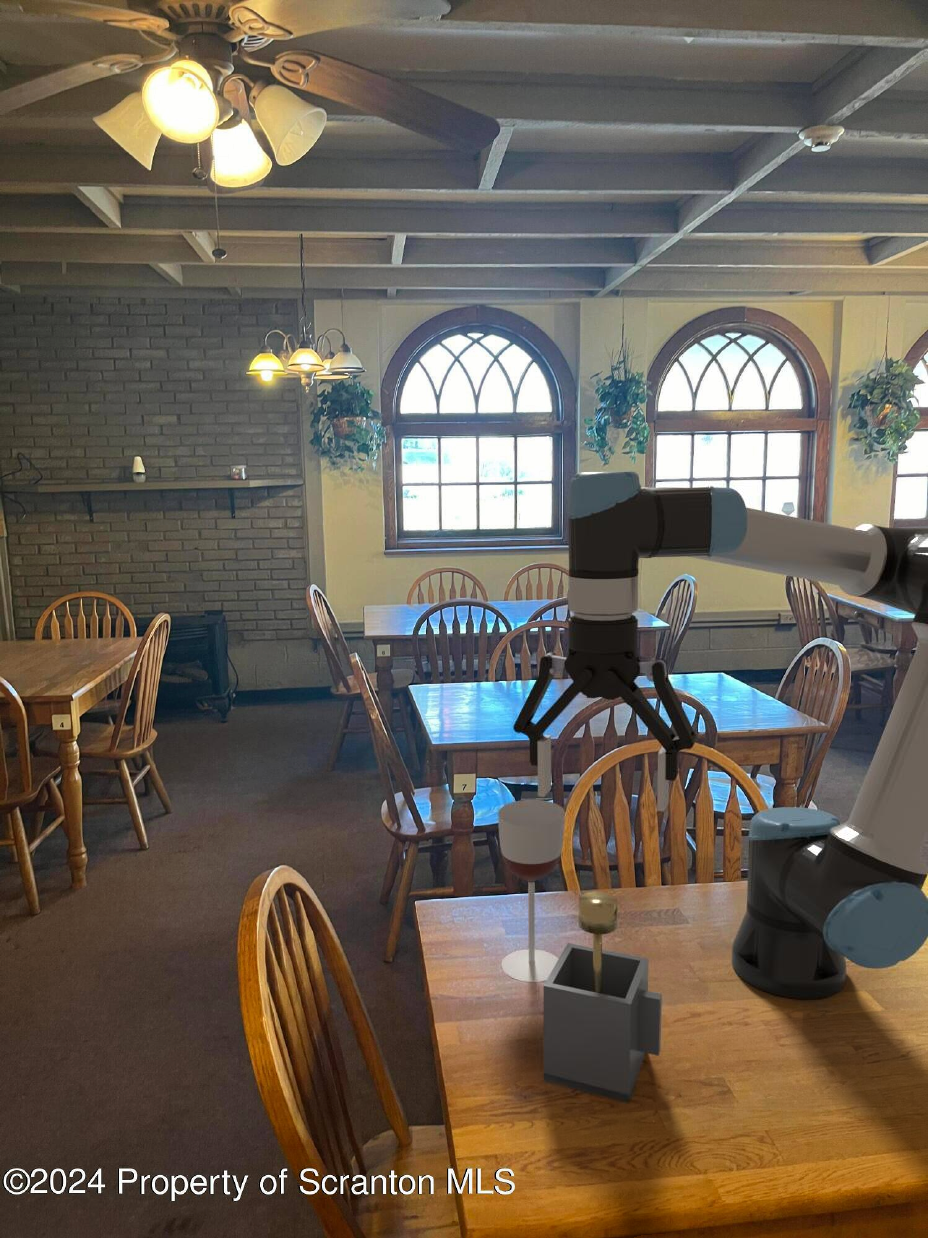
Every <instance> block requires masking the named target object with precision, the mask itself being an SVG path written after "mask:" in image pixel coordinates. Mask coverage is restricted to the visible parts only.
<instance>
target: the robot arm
mask: <svg viewBox="0 0 928 1238" xmlns="http://www.w3.org/2000/svg"><path fill="white" fill-rule="evenodd" d="M566 518H567V537H568V540H567V541H568V588H567V589H568V593H567V594H568V597H567V598H568V599H567V602H568V605H567V606H568V611H569V612H571V614H572V615H570V617H569V618H568V620H567V621H568V625H567V626H568V629H567V630H568V654H567V655H566V656H559V655H557V654H556V653H555V652H553V651H551V652H548V653H546V654H545V655H543V656H542V657H541V658H540V661H539V670H538V676H537V678H536V680H535V682H534V684H533V686H532V688H531V690H530V692H529V694H528V696H527V698H526V700H525V701H524V704H523V706H522V708H521V710H520V712H519V715H518V716H517V717H516V720H515V722H514V724H513V725H512V726H513V731H514V732H516V733H517V734H523V735H525V736H527V738H528V740H529V762H530V765H531V766H533V767H537V796H538V797H544V798H545V796H546V795H548V793H549V792H550V791H551V790H552V735H549V734H548V735H547V734H544V733H545V732H546V731H547V730H548V728H549V727H550V726H551V725H552V724H553V723H554V722H555V720H557V718H558V717H559V716H560V715H561V714H562V713H563V711H565V710H566V708H567V707H569V705H570V704H571V703H572V702H573V701H574V700H575V699H576V697H578V696H579V694H582V695H584V696H585V697H586V698H587V699H597V698H602V699H606V700H610V701H611V700H612V701H615V700H616V699H619V698H621V699H622V700H623V701H624V703H625V704H626V705H627V706H629V707H630V708H631V709H632V710H633V712H635V714H636V715H637V717H638V718H639V719H640V720H641V722H642V723H643V724H644V726H646V728H647V729H648V731H650V733H651V734H652V735H653V736H654V738H655V739H656V740H657V741H658V744H660V745H661V747H660V749H659V751H658V753H657V789H656V790H657V797H656V799H657V800H656V802H657V803H656V804H657V806H656V811H658V812H665V811H666V810H667V809H666V808H667V807H668V804H669V799H670V797H669V791H670V790H669V789H670V785H669V783H670V781H672V782H673V781H676V779H677V777H678V775H679V772H680V770H679V768H680V767H679V766H680V751H682V750H690V749H692V748H693V747H694V745H695V744H696V742H697V739H698V737H697V735H696V733H695V730H694V727H693V725H692V724H691V722H690V720H689V718H688V716H687V714H686V711H685V709H684V707H683V706H682V705H683V704H681V701H680V699H679V697H678V695H677V693H676V691H675V689H674V686H673V684H672V682H671V680H670V679H669V670H668V662H667V660H666V659H664V658H658V659H657V660H655V661H641V659H640V658H639V654H638V653H639V652H638V643H639V641H638V638H639V637H638V636H639V634H638V633H639V632H638V626H639V624H638V622H639V619H638V618H637V617H636V615H634V613H635V612H637V611H638V609H639V562H640V561H639V560H640V559H652V558H672V557H673V558H676V557H677V558H679V557H681V558H682V557H684V558H685V557H687V558H688V557H689V558H692V559H699V560H703V561H708V562H714V563H719V564H724V565H730V566H734V567H740V568H746V569H751V570H755V571H756V570H757V571H761V572H767V573H772V574H777V575H782V576H788V577H793V578H797V579H798V578H799V579H803V580H808V581H814V582H820V583H824V584H830V585H835V586H839V588H840V590H841V591H842V592H843V593H844V594H846V595H849V596H852V597H857V598H863V599H867V600H870V601H872V602H876V603H880V604H883V605H885V606H886V605H887V606H889V607H892V608H895V609H898V610H900V611H903V612H906V613H909V614H913V615H914V617H913V620H912V622H911V627H912V629H913V631H914V633H915V635H916V637H917V640H918V641H917V642H918V645H917V647H916V648H915V649H916V650H915V652H914V655H913V657H912V659H911V661H910V665H909V667H908V670H907V672H906V674H905V677H904V679H903V682H902V684H901V686H900V687H901V688H900V690H899V692H898V695H897V698H896V699H895V702H894V705H893V707H892V710H891V713H890V714H889V717H888V720H887V722H886V725H885V728H884V730H883V732H882V734H881V738H880V740H879V742H878V745H877V748H876V749H875V753H874V756H873V758H872V760H871V762H870V765H869V767H868V771H867V773H866V775H865V778H864V780H863V784H862V785H861V788H860V791H859V792H858V796H857V798H856V801H855V804H854V805H853V807H852V808H853V809H851V810H852V811H851V813H850V816H849V818H848V820H846V821H845V822H843V823H841V822H840V819H839V818H838V817H837V816H835V814H832V813H830V812H827V811H823V810H820V809H814V808H807V807H797V806H796V807H795V806H794V807H793V806H790V807H789V806H788V807H787V806H784V807H782V806H781V807H774V808H773V807H772V808H768V809H764V810H761V811H758V812H757V813H756V814H754V816H753V817H752V818H751V820H750V826H749V832H748V836H747V841H748V855H747V856H748V860H747V885H746V886H747V888H746V893H747V894H746V911H745V914H744V915H743V919H742V921H741V923H740V926H739V928H738V931H737V933H736V936H735V938H734V939H733V943H732V948H731V949H732V950H731V964H732V968H733V969H734V971H735V972H736V973H737V975H738V976H739V977H740V978H741V979H742V980H744V981H745V982H747V983H748V984H750V985H752V986H753V987H755V988H757V989H759V990H762V991H763V992H766V993H768V994H769V993H770V994H771V995H776V996H779V997H784V998H790V999H798V1000H799V999H800V1000H815V999H823V998H826V997H830V996H832V995H833V996H834V995H836V993H838V992H839V991H841V990H842V989H843V988H844V986H845V984H846V978H847V961H846V959H847V960H849V961H850V962H851V963H853V964H855V965H857V966H859V967H862V968H866V969H875V970H877V969H878V970H879V969H887V968H891V967H894V966H896V965H897V964H898V963H900V962H905V961H907V960H909V959H910V958H911V957H912V956H914V955H915V954H916V953H917V952H918V951H919V950H920V949H921V948H922V946H923V945H924V944H925V942H926V941H927V939H928V897H927V895H926V894H925V892H924V891H923V886H924V885H925V882H926V880H927V877H928V866H927V865H928V864H927V863H926V861H925V859H924V857H923V854H922V850H923V848H924V845H925V843H926V841H927V838H928V527H927V528H925V527H924V528H920V527H919V528H918V527H917V528H916V527H915V528H913V527H909V528H908V527H905V528H903V527H902V528H901V527H885V526H879V525H875V524H869V523H863V524H859V525H857V526H856V527H854V528H850V527H844V526H840V525H835V524H830V523H826V522H821V521H820V522H819V521H815V520H810V519H806V518H800V517H795V516H791V515H786V514H781V513H775V512H771V511H765V510H761V509H755V508H750V507H747V506H746V503H745V500H744V498H743V497H742V495H741V494H740V492H739V491H738V490H736V489H734V488H732V487H717V486H712V485H711V486H710V485H709V486H706V487H705V486H699V487H651V486H650V487H648V486H645V487H643V486H642V485H641V484H640V477H639V474H638V473H637V472H636V471H632V470H630V471H629V470H627V471H590V472H589V471H588V472H584V471H583V472H582V471H581V472H579V473H576V474H574V475H573V476H572V477H571V479H570V482H569V487H568V499H567V513H566ZM562 669H564V670H565V672H566V673H567V674H568V676H569V678H571V680H572V682H571V684H570V685H569V686H568V687H567V688H566V689H565V690H564V692H563V693H562V694H561V695H560V697H558V699H557V700H556V701H554V703H553V704H552V705H551V706H550V707H549V708H548V710H547V711H546V712H545V713H544V714H543V715H542V716H541V718H540V719H538V721H537V722H536V723H535V722H532V720H533V718H534V717H535V715H536V713H537V710H538V709H539V707H540V705H541V704H542V702H543V701H542V700H543V699H544V697H545V694H546V692H547V691H548V689H549V687H550V685H551V683H552V681H553V679H554V676H556V675H558V674H559V673H560V672H561V670H562ZM640 674H644V675H645V676H646V678H647V680H648V681H649V682H652V683H653V686H654V689H655V691H656V694H657V695H658V698H659V700H660V702H661V704H662V706H663V708H664V710H665V712H666V714H667V716H668V718H669V721H670V723H671V724H672V727H673V728H674V730H675V732H674V731H673V730H672V729H671V727H670V726H669V725H668V724H667V722H666V721H665V719H663V717H662V716H661V715H660V713H659V712H658V711H657V710H656V709H655V708H654V705H652V704H651V703H650V701H649V700H648V698H647V697H645V695H644V694H643V691H642V690H641V687H640V686H639V685H638V684H637V683H636V682H635V681H636V679H637V678H638V677H639V675H640Z"/></svg>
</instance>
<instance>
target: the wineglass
mask: <svg viewBox="0 0 928 1238" xmlns="http://www.w3.org/2000/svg"><path fill="white" fill-rule="evenodd" d="M565 815H566V813H565V808H563V806H561V805H560V804H557V803H555V802H551V801H548V800H543V799H542V800H541V799H522V800H517V801H512V802H510V803H507V804H505V805H503V806H502V807H500V809H499V810H498V812H497V816H498V817H497V819H498V837H499V844H500V852H501V855H502V858H503V861H504V864H505V865H506V867H507V869H508V871H510V872H511V874H513V875H514V876H515V877H517V878H519V879H521V880H524V881H526V882H527V883H528V885H527V886H528V888H527V889H528V891H527V892H528V896H527V897H528V899H527V900H528V901H527V902H528V949H519V950H516V951H513V952H511V953H508V954H507V955H506V956H505V957H503V959H502V961H501V969H502V970H503V973H505V974H506V975H507V976H509V977H510V978H513V979H515V980H517V981H520V982H527V983H539V982H544V981H545V982H546V980H547V979H548V977H549V975H550V973H551V972H552V970H553V968H554V966H555V965H556V963H557V961H558V959H559V957H557V956H556V955H554V954H553V953H551V952H548V951H545V950H541V949H536V948H535V946H536V941H535V937H536V936H535V935H536V934H535V931H536V930H535V929H536V928H535V927H536V926H535V925H536V924H535V923H536V922H535V919H536V915H535V914H536V913H535V910H536V907H535V906H536V905H535V900H536V899H535V896H536V895H535V889H536V887H535V881H538V880H541V879H543V878H545V877H547V876H548V875H549V874H550V873H552V872H553V871H554V869H555V868H556V867H557V865H558V863H559V861H560V857H561V855H562V851H563V845H564V834H565V822H566V821H565V818H566V816H565Z"/></svg>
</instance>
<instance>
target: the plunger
mask: <svg viewBox="0 0 928 1238" xmlns="http://www.w3.org/2000/svg"><path fill="white" fill-rule="evenodd" d="M578 926H579V928H580V929H581V930H583V931H584V932H586V933H589V934H592V935H593V938H592V942H593V943H592V945H593V946H592V948H593V992H595V993H600V994H601V987H602V950H603V935H607V934H611V933H613V932H615V931H616V930H617V929H618V898H616V896H614V895H613V894H610V893H608V892H604V891H589V892H585V893H583V894H581V895H580V896H579V897H578Z"/></svg>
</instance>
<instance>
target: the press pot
mask: <svg viewBox="0 0 928 1238" xmlns="http://www.w3.org/2000/svg"><path fill="white" fill-rule="evenodd" d="M542 999H543V1003H542V1004H543V1008H542V1009H543V1010H542V1011H543V1017H542V1018H543V1019H542V1021H543V1026H542V1027H543V1032H542V1033H543V1037H542V1038H543V1039H542V1040H543V1047H542V1048H543V1054H542V1055H543V1060H542V1061H543V1062H542V1063H543V1072H542V1073H543V1082H545V1083H551V1084H552V1085H553V1084H554V1085H558V1086H562V1087H564V1088H565V1087H566V1088H570V1089H573V1090H576V1091H577V1090H578V1091H581V1092H585V1093H589V1094H593V1095H596V1096H600V1097H604V1098H608V1099H613V1100H616V1101H620V1102H623V1103H624V1102H625V1103H627V1102H628V1103H627V1104H630V1103H631V1098H632V1096H633V1093H634V1089H635V1087H636V1083H637V1081H638V1078H639V1074H640V1071H641V1068H642V1065H643V1063H644V1062H643V1061H644V1059H645V1056H646V1054H648V1055H653V1056H658V1057H659V1056H660V1053H661V1050H662V1049H661V1045H662V1044H661V1043H662V1040H661V1039H662V1007H663V1006H662V1005H663V1003H662V1001H663V994H662V993H659V992H654V991H649V958H648V957H647V958H646V957H641V956H636V955H631V954H626V953H622V952H621V953H620V952H618V951H617V952H616V951H611V950H606V949H602V987H601V994H600V993H595V992H593V947H590V946H586V945H580V944H574V943H569V942H568V943H566V945H565V947H564V949H563V951H562V953H561V954H560V956H559V957H558V961H557V963H556V965H555V966H554V968H553V970H552V972H551V973H550V975H549V977H548V979H547V980H546V981H545V982H544V984H543V998H542Z"/></svg>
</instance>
